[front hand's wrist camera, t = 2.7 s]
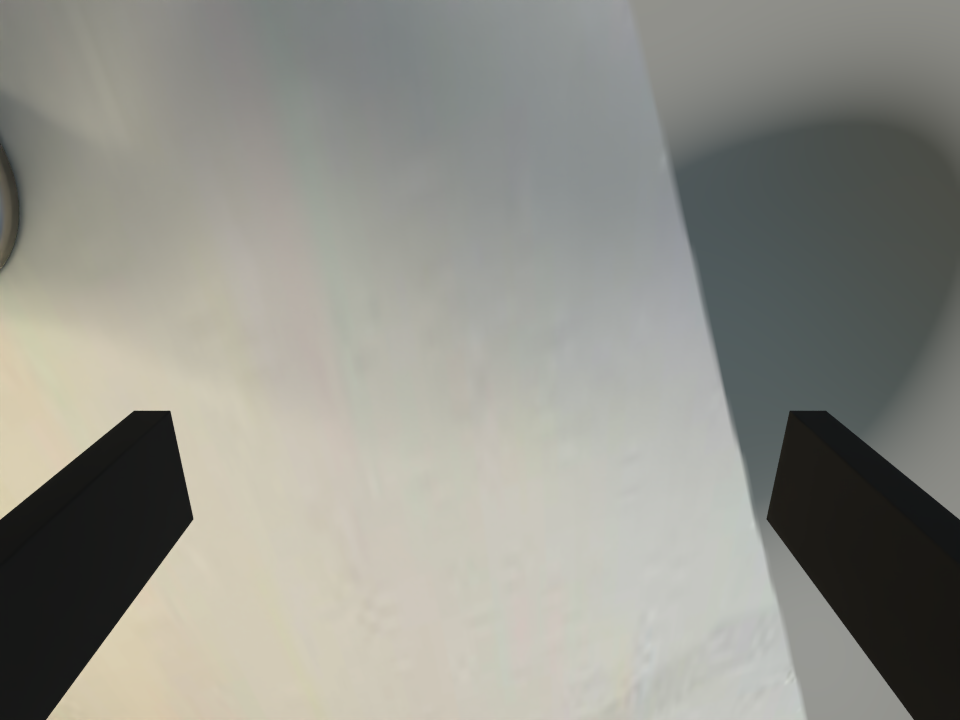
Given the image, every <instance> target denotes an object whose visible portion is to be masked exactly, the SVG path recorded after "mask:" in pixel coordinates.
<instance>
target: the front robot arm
mask: <svg viewBox="0 0 960 720" xmlns="http://www.w3.org/2000/svg"><path fill="white" fill-rule="evenodd" d="M18 225H19V200H18V194H17V187H16V183H15V179H14V175H13V172H12V169H11V166H10V163H9V161H8V159H7V156H6V154H5V152H4V149H3V147H2V146H1V144H0V269H1V268H2V266H3V265H4V264H5V262H6V261H7V259H8V257H9V255H10V253H11V251H12V249H13V246H14V243H15V240H16V236H17V231H18ZM192 520H193V515H192V510H191V505H190V501H189V496H188V491H187V487H186V482H185V477H184V473H183V468H182V463H181V459H180V454H179V449H178V445H177V440H176V435H175V431H174V426H173V421H172V417H171V412H170V411H133V412H132V413H131V414H130V415H128V416H127V417H126V418H125V419H123V420H122V421H121V422H120V423H119V424H117V425H116V426H115V427H114V428H112V429H111V430H110V431H109V432H108V433H106V434H105V435H104V436H103V437H101V438H100V439H99V440H98V441H96V442H95V443H94V444H93V445H92V446H90V447H89V448H88V449H87V450H85V451H84V452H83V453H82V454H80V455H79V456H78V457H77V458H76V459H74V460H73V461H72V462H71V463H69V464H68V465H67V466H66V467H65V468H63V469H62V470H61V471H60V472H58V473H57V474H56V475H55V476H53V477H52V478H51V479H50V480H49V481H47V482H46V483H45V484H44V485H42V486H41V487H40V488H39V489H38V490H36V491H35V492H34V493H33V494H31V495H30V496H29V497H28V498H26V499H25V500H24V501H23V502H22V503H20V504H19V505H18V506H17V507H15V508H14V509H13V510H12V511H11V512H9V513H8V514H7V515H6V516H4V517H3V518H2V519H1V520H0V720H46V719H47V718H48V716H49V715H50V714H51V712H52V711H53V710H54V708H55V707H56V705H57V704H58V703H59V701H60V700H61V699H62V697H63V696H64V695H65V693H66V692H67V690H68V689H69V688H70V686H71V685H72V684H73V682H74V681H75V680H76V678H77V677H78V676H79V674H80V673H81V671H82V670H83V669H84V667H85V666H86V665H87V663H88V662H89V661H90V659H91V658H92V656H93V655H94V654H95V652H96V651H97V650H98V648H99V647H100V646H101V644H102V643H103V641H104V640H105V639H106V637H107V636H108V635H109V633H110V632H111V631H112V629H113V628H114V627H115V625H116V624H117V622H118V621H119V620H120V618H121V617H122V616H123V614H124V613H125V612H126V610H127V609H128V607H129V606H130V605H131V603H132V602H133V601H134V599H135V598H136V597H137V595H138V594H139V592H140V591H141V590H142V588H143V587H144V586H145V584H146V583H147V582H148V580H149V579H150V578H151V576H152V575H153V573H154V572H155V571H156V569H157V568H158V567H159V565H160V564H161V563H162V561H163V560H164V558H165V557H166V556H167V554H168V553H169V552H170V550H171V549H172V548H173V546H174V545H175V544H176V542H177V541H178V539H179V538H180V537H181V535H182V534H183V533H184V531H185V530H186V529H187V527H188V526H189V524H190V523H191V522H192ZM767 520H768V522H769V523H770V524H771V526H772V527H773V529H774V530H775V531H776V533H777V534H778V535H779V537H780V538H781V539H782V541H783V542H784V544H785V545H786V546H787V547H788V549H789V550H790V552H791V553H792V554H793V556H794V557H795V558H796V560H797V561H798V563H799V564H800V565H801V567H802V568H803V569H804V571H805V572H806V573H807V575H808V576H809V578H810V579H811V580H812V582H813V583H814V584H815V586H816V587H817V588H818V590H819V591H820V592H821V594H822V595H823V597H824V598H825V599H826V601H827V602H828V603H829V605H830V606H831V607H832V609H833V610H834V612H835V613H836V614H837V616H838V617H839V618H840V620H841V621H842V622H843V624H844V625H845V627H846V628H847V629H848V630H849V632H850V633H851V635H852V636H853V637H854V639H855V640H856V641H857V643H858V644H859V646H860V647H861V648H862V650H863V651H864V652H865V654H866V655H867V656H868V658H869V659H870V660H871V662H872V663H873V664H874V666H875V667H876V669H877V670H878V671H879V673H880V674H881V676H882V677H883V678H884V679H885V681H886V682H887V684H888V685H889V686H890V688H891V689H892V690H893V692H894V693H895V695H896V696H897V697H898V699H899V700H900V701H901V703H902V704H903V705H904V707H905V708H906V710H907V711H908V712H909V713H910V715H911V716H912V718H913V719H914V720H960V520H959V519H958V518H957V517H955V516H954V515H953V514H952V513H951V512H949V511H948V510H947V509H946V508H945V507H943V506H942V505H941V504H940V503H938V502H937V501H936V500H935V499H934V498H932V497H931V496H930V495H929V494H927V493H926V492H925V491H924V490H922V489H921V488H920V487H919V486H918V485H916V484H915V483H914V482H913V481H911V480H910V479H909V478H908V477H907V476H905V475H904V474H903V473H902V472H900V471H899V470H898V469H897V468H895V467H894V466H893V465H892V464H891V463H889V462H888V461H887V460H886V459H884V458H883V457H882V456H881V455H879V454H878V453H877V452H876V451H875V450H873V449H872V448H871V447H870V446H868V445H867V444H866V443H865V442H864V441H862V440H861V439H860V438H859V437H857V436H856V435H855V434H854V433H852V432H851V431H850V430H849V429H848V428H846V427H845V426H844V425H843V424H841V423H840V422H839V421H838V420H837V419H835V418H834V417H833V416H832V415H830V414H829V413H828V412H827V411H790V412H789V417H788V421H787V426H786V431H785V435H784V440H783V445H782V449H781V454H780V459H779V463H778V468H777V473H776V477H775V482H774V487H773V491H772V496H771V501H770V505H769V510H768V515H767Z"/></svg>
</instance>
